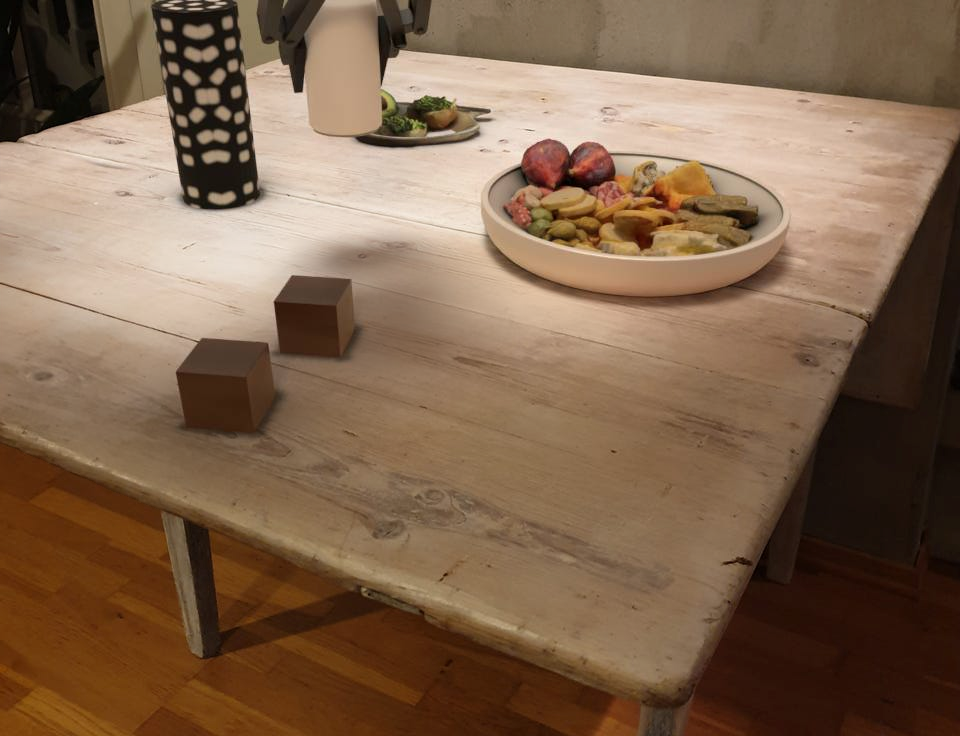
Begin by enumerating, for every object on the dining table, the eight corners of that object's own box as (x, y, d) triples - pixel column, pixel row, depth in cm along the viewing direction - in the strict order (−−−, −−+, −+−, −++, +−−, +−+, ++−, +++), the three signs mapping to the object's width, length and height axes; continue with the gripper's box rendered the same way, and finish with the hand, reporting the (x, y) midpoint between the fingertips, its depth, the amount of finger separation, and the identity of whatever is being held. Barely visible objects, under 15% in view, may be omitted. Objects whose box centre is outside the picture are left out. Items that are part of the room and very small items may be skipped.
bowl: (838, 248, 98) (856, 172, 93) (657, 345, 80) (669, 257, 76) (608, 175, 115) (614, 108, 111) (419, 242, 98) (417, 165, 93)
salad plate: (477, 107, 139) (477, 74, 137) (508, 144, 125) (509, 107, 122) (343, 114, 136) (340, 80, 133) (359, 153, 121) (357, 116, 119)
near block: (211, 396, 73) (201, 337, 70) (275, 401, 72) (268, 342, 70) (186, 432, 69) (175, 371, 66) (254, 438, 68) (246, 376, 65)
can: (397, 128, 86) (392, -20, 80) (340, 143, 83) (329, -11, 76) (351, 113, 90) (342, -29, 83) (295, 127, 86) (280, -21, 80)
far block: (297, 329, 82) (291, 274, 79) (355, 333, 81) (351, 278, 79) (280, 357, 78) (273, 301, 75) (340, 362, 77) (336, 305, 75)
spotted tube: (225, 218, 103) (196, 15, 91) (167, 203, 106) (132, 6, 95) (275, 195, 109) (254, 2, 97) (219, 182, 112) (193, -6, 101)
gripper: (227, -66, 62) (233, 122, 84) (512, -74, 67) (447, 106, 89) (207, -167, 63) (218, 45, 85) (489, -167, 68) (430, 33, 90)
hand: (335, 76), depth 87 cm, fingers closed on can, 6 cm apart
